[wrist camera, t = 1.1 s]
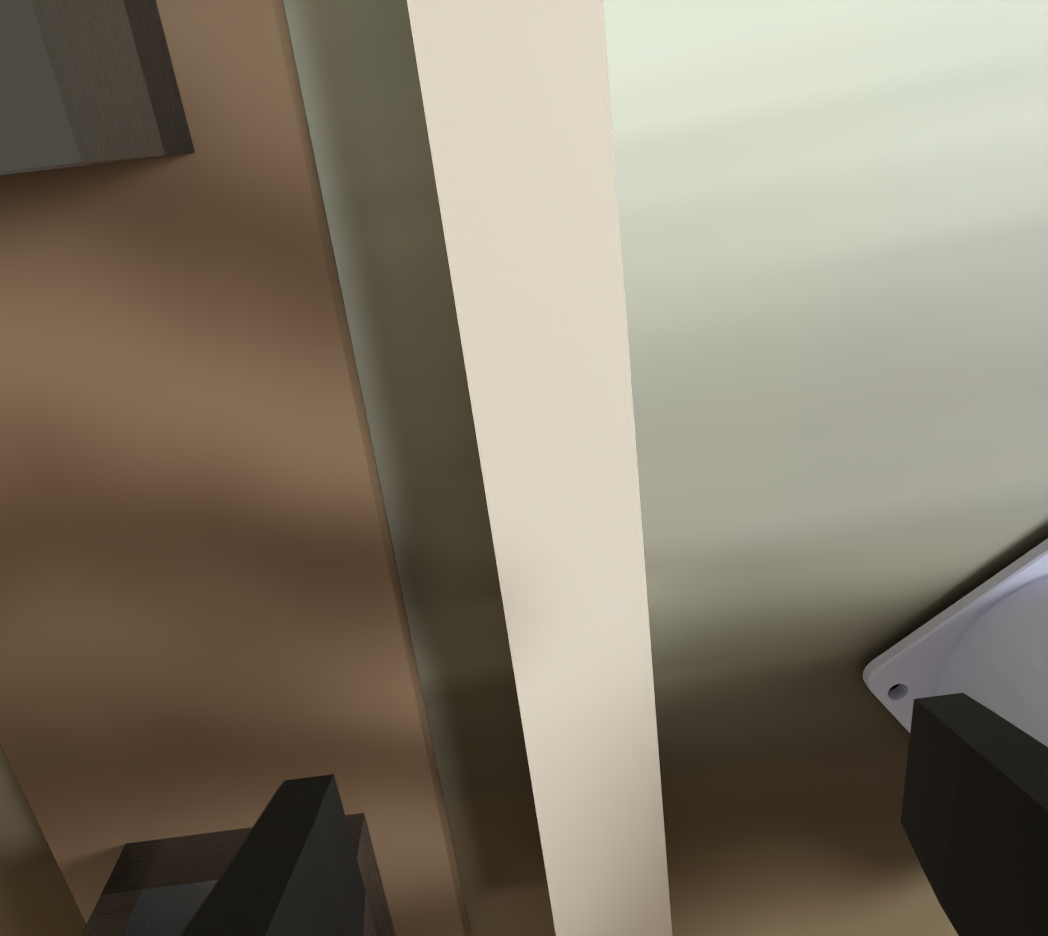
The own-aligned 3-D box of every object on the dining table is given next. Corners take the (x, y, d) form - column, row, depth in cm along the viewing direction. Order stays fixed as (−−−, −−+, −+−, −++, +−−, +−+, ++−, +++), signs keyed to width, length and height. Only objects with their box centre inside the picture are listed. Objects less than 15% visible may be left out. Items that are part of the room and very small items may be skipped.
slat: (649, 842, 24) (672, 936, 21) (549, 856, 24) (558, 952, 21) (565, -142, 14) (586, -209, 11) (397, -120, 14) (378, -180, 11)
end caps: (403, 966, 23) (388, 1150, 19) (189, 994, 23) (127, 1185, 19) (85, -275, 12) (-122, -493, 8) (-331, -228, 12) (-762, -420, 8)
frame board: (471, 937, 24) (471, 969, 23) (142, 980, 24) (129, 1013, 23) (222, -301, 13) (202, -335, 12) (-410, -228, 13) (-480, -256, 12)
